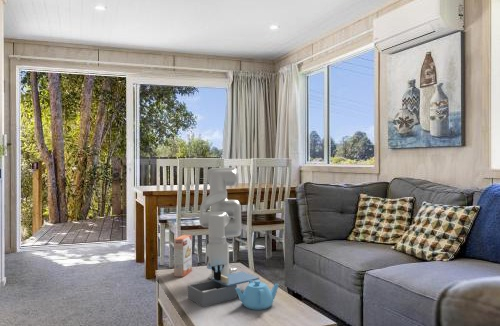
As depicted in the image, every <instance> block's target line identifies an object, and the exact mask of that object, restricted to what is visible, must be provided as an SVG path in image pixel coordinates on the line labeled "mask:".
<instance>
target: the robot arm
mask: <svg viewBox="0 0 500 326" xmlns="http://www.w3.org/2000/svg"><path fill="white" fill-rule="evenodd" d="M238 170H239V169H237V168H236V167H233V166H232V167H231V166H230V167H211V168H209V169H207V171H206V179H207V183H208V186H209V194H208V195H207V196H206V197H205V198H204V199H203V201H202V202H201V204H200V207H199V218H198V219H199V225H200V226H201V227H202V228H208V243H207V245H206V248H205V257H204V259H205V260H204V262H205V265H206V269H208V270H211V273H210V274H209V275H208V279H210V281H211V280H212V278H214V279H215V280H217V281H218V280H221V275H228V274H232V273H237V272H238V270H237V268H236V267H234V268H232V267H230V252H229V251H230V249H229V248H230V247H229V245H230V244H229V243H228V241H227V240H228V239H227V238H232V237H239V236H241V234H242V228H243V227H242V206H241V203H240V201H239V200H238V199H228V191H227V187H231V186H233V187H234V186H237V184H238V182H239V171H238ZM210 207H211V211H207V210H208V209H209V208H210Z"/></svg>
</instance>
